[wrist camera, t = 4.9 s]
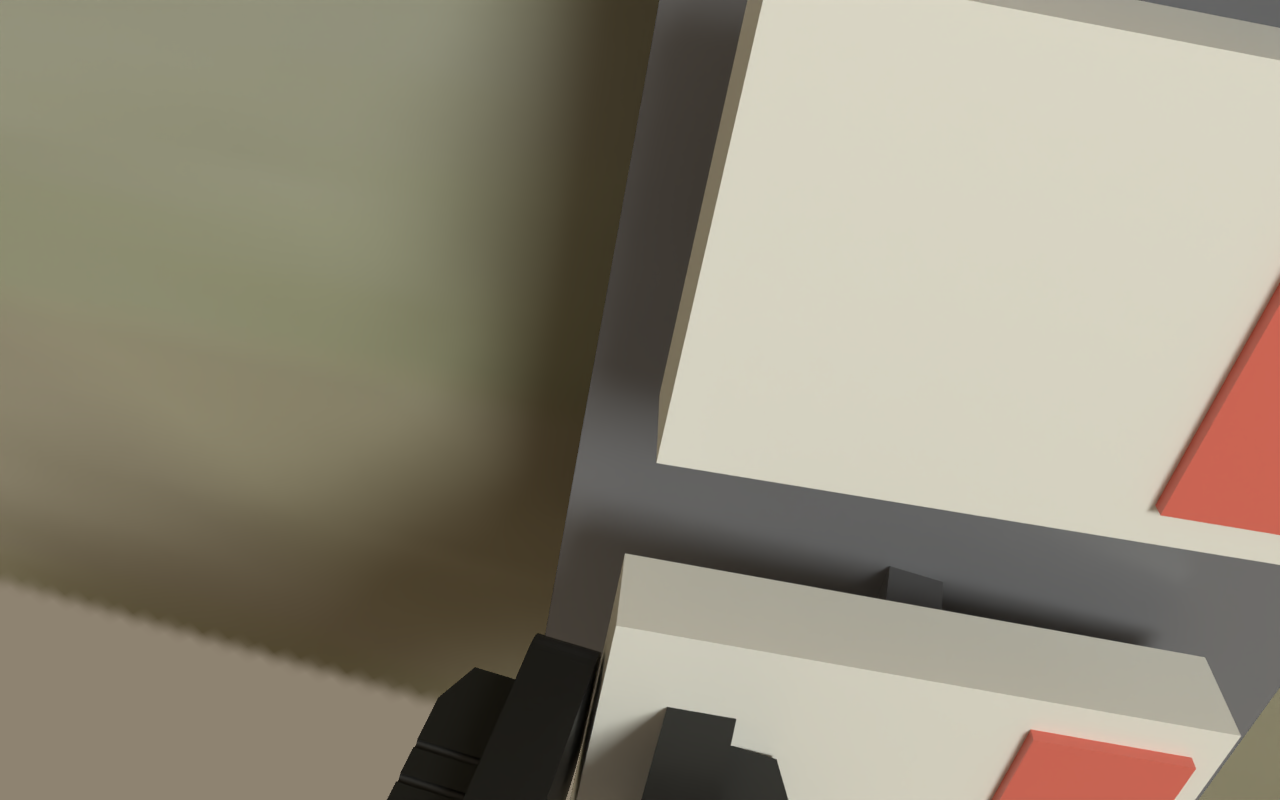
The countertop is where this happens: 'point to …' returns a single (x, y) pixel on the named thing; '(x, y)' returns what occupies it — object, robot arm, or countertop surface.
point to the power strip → (829, 521)
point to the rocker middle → (995, 267)
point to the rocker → (893, 696)
